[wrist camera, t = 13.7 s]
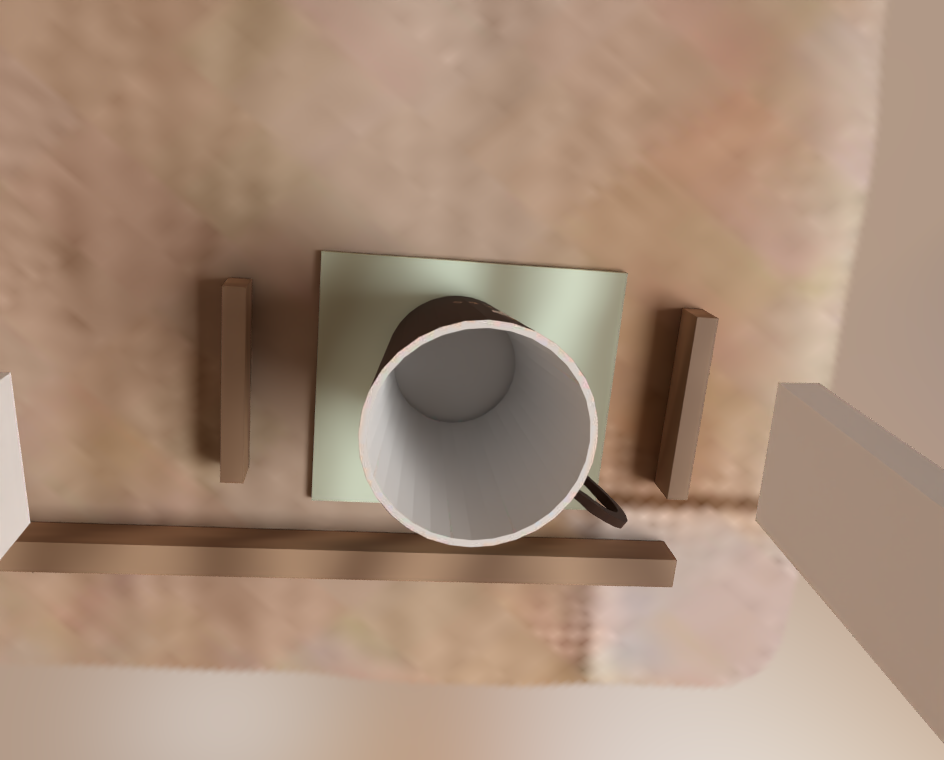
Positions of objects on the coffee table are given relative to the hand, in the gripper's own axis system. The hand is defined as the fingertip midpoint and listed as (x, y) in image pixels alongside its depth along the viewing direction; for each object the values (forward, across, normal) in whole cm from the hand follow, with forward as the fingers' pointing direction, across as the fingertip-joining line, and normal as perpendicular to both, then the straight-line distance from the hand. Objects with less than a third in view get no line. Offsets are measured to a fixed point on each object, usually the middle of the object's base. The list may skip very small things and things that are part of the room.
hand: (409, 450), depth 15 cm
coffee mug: (+25, +4, -8) cm, 26 cm away
